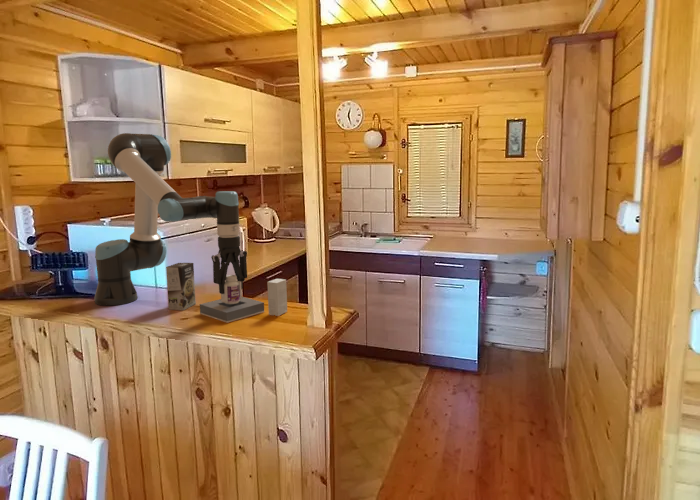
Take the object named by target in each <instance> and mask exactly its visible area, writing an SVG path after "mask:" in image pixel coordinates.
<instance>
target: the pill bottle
mask: <svg viewBox="0 0 700 500" xmlns="http://www.w3.org/2000/svg"><path fill="white" fill-rule="evenodd" d="M236 280H237V276H236V275H235V274H229V275H226V280H225V284H226V285H227V294H228V303H226V304H236V303H239V301H240V298H239V283H238V280H237V281H236Z"/></svg>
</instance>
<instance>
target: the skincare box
mask: <svg viewBox="0 0 700 500" xmlns="http://www.w3.org/2000/svg"><path fill="white" fill-rule="evenodd" d="M287 294H288V293H287V279H284V278H275V279H272V280H269V281H267V302H268V303H267V304H268V306H267V308H268V309H267V310H268V315H269V316H274V315H275V316H276V317H280V316H281V315H283V314H285V313H287V312H288V296H287Z"/></svg>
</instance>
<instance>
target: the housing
mask: <svg viewBox="0 0 700 500" xmlns="http://www.w3.org/2000/svg"><path fill="white" fill-rule="evenodd" d="M262 313H265V302H264V301H260V300H256V299H252V298H249V297H244V296H242V299H241V300H240V301H239V303H236V304H226V303H224V302H222V301H221V298H219V299H215V300H212V301H208V302H207V301H206V302H203V303H200V304H199V314H200V315H203V316H206V317H209V318H212V319H215V320H218V321H221V322H224V323H230V322H234V321H239V320H241V319H245V318H249V317H252V316H255V315H258V314H262Z"/></svg>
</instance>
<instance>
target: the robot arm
mask: <svg viewBox="0 0 700 500" xmlns="http://www.w3.org/2000/svg"><path fill="white" fill-rule="evenodd" d="M107 147H108V148H107V156H108V159H109V161H110V163H111V164H112V165H113V166H114V168H116V169H117V170H118V171H120V172H123V173H125V174H126V175H127V176H128V177H129V178H130V179H131V180H132V181H133V182H134V183H135V186H134V187H135V189H134V191H135V192H134V196H135V197H134V220H133V221H134V224H133V232H132V233H131V234H130V235H129V241H128V240H127V239H123V238H122V239H112V240H108V241H104V242H101V243H98V245H96V247H95V250H94V251H95V254H94V258H95V264H96V265H95V266H96V274H97V286H96V290H95V294H94V298H93V299H94V304H95V305H99V306H118V305H125V304H129V303H132V302H134V301H136V300H138V293H137V289H136V288H135V286H134V284H133V281H132V276H131V272H134V271H140V270H145V269H153V268H155V267H158V266H160V265H162V264H163V263H164V261H165V259H166V257H167V246H166V243H165V241H164V240H163V239H161V238H162V237H161V235H160V234H159V233H158V221H159V220H158V218H160V219H161V220H162V221H163V222H167V223H168V222H170V223H171V222H173V223H176V222H181V221H190V220H199V219H210V218H211V219H216V231H217V232H216V233H217V236H218V237H217V246H218V252H217V254H215V255H213V254H212V255H211V260H212V272H213V273H212V274H213V275H212V276H213V279H212V280H213V283H214V284H217V285H218V290H219V291H218V292H219V294H220V295H221V297H220V299H221V301H222V302H224V303H228V294H227V285H226V284H225V282H226V276H228V275H227V274H228V270H229V266H230V263H231V265H232V268H233V270H234V275H236V276H237V280H236V281H238V283H239V298H240V300H241V299H242V297H243V292H242V291H243V290H244V284H243V283H244V282H245V280H246V279H247V278H248V266H247V255H248V252H247V251H245V250H241V249H240V246H241V237H240V236H239V235H240V234H241V233H240V214H239V213H240V211H239V209H240V208H239V206H240V203H239V196H238V193H237V191H233V190H232V191H228V190H227V191H226V190H224V191H223V190H222V191H216V192H215V196H207V195H198V196H193V197H182V196H181V195H180V194H179V193H178V192H177V191H175V189H173V187H171V186H170V185H169V184H168V183H167V182H166V181H165V180H164V179H163V178H162V176H160V175H161V174H162V173H164V172H165V171H164V169H165V168H164V166H166V165H168V164H169V163H170V161H171V158H172V152H171V147H170V145H169V143H168V141H167V140H166V138H164V137H163V136H161V135H159V134H158V135H157V134H153V133H152V134H150V133H131V132H130V133H129V132H126V133H125V132H124V133H119V134H117V135H116V136H114V137H113V138H112V139H111V140H110V142H109V143H108V146H107ZM158 216H159V217H158Z"/></svg>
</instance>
